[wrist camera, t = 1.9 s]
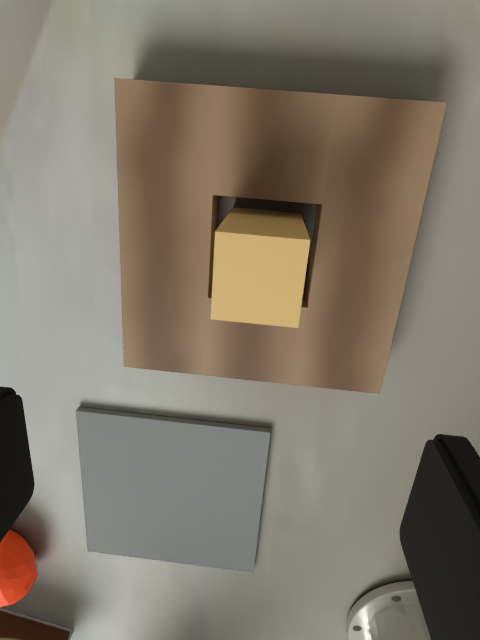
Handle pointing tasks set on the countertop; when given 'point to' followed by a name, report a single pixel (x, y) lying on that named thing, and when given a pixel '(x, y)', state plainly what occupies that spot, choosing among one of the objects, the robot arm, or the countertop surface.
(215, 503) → the grey mat
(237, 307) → the ochre block
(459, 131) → the countertop surface
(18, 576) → the pumpkin
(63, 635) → the food container
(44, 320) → the countertop surface
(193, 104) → the walnut cradle
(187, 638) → the countertop surface
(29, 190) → the countertop surface
